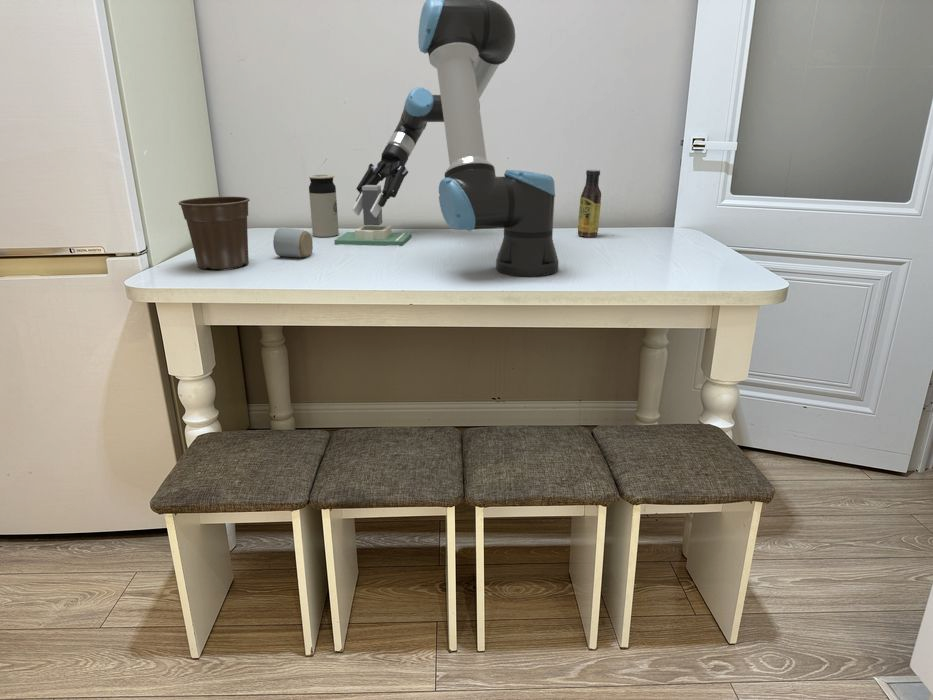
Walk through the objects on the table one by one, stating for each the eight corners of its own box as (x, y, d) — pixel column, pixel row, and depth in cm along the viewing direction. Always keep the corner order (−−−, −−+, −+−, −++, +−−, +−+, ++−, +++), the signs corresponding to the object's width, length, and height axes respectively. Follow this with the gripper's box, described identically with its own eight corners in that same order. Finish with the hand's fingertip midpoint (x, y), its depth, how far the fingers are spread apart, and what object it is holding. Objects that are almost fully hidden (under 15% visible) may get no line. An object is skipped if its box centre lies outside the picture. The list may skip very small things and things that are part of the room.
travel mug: (308, 236, 199) (302, 176, 192) (320, 232, 206) (316, 174, 200) (331, 238, 196) (326, 177, 190) (343, 233, 204) (339, 174, 197)
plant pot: (179, 264, 163) (169, 199, 158) (241, 255, 173) (234, 194, 167) (201, 276, 152) (191, 206, 146) (267, 266, 161) (260, 200, 156)
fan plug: (379, 225, 189) (377, 186, 185) (363, 225, 190) (361, 186, 186) (382, 222, 193) (380, 185, 190) (367, 222, 194) (365, 184, 190)
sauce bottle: (573, 235, 201) (577, 169, 194) (590, 233, 204) (594, 168, 197) (585, 238, 196) (589, 171, 189) (602, 237, 198) (607, 170, 191)
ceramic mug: (302, 260, 167) (300, 230, 165) (273, 258, 169) (271, 229, 167) (320, 253, 177) (318, 224, 175) (293, 251, 179) (290, 223, 176)
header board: (402, 245, 185) (402, 232, 184) (334, 244, 187) (333, 231, 186) (411, 236, 198) (411, 224, 197) (347, 235, 200) (347, 223, 199)
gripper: (428, 161, 193) (396, 224, 186) (379, 158, 202) (346, 218, 195) (417, 143, 187) (383, 207, 179) (367, 141, 196) (333, 202, 189)
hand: (364, 213), depth 187 cm, fingers closed on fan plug, 6 cm apart
